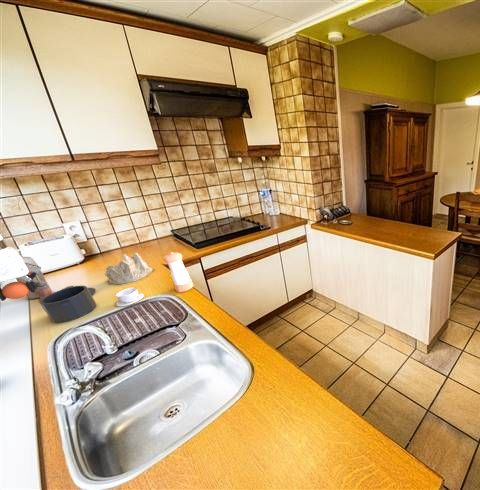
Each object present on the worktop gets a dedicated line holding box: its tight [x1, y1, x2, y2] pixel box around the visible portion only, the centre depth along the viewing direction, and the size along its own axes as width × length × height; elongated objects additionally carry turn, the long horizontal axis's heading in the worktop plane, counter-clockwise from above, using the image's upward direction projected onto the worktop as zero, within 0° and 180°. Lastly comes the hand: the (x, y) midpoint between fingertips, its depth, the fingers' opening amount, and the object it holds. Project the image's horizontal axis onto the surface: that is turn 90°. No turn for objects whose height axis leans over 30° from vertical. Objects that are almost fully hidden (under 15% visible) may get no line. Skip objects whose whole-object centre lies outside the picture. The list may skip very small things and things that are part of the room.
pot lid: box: [65, 285, 97, 296], centre depth 124 cm, size 15×15×6 cm
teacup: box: [115, 287, 145, 307], centre depth 120 cm, size 10×10×5 cm
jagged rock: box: [104, 252, 154, 285], centre depth 140 cm, size 16×16×15 cm
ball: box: [1, 281, 30, 300], centre depth 91 cm, size 6×6×6 cm
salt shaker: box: [163, 251, 194, 293], centre depth 125 cm, size 7×7×19 cm
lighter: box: [34, 280, 53, 301], centre depth 124 cm, size 8×3×10 cm, turn 73°
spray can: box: [15, 256, 53, 300], centre depth 126 cm, size 8×8×20 cm
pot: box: [39, 285, 98, 324], centre depth 113 cm, size 14×19×10 cm
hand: (19, 294), depth 92 cm, fingers closed on ball, 5 cm apart
